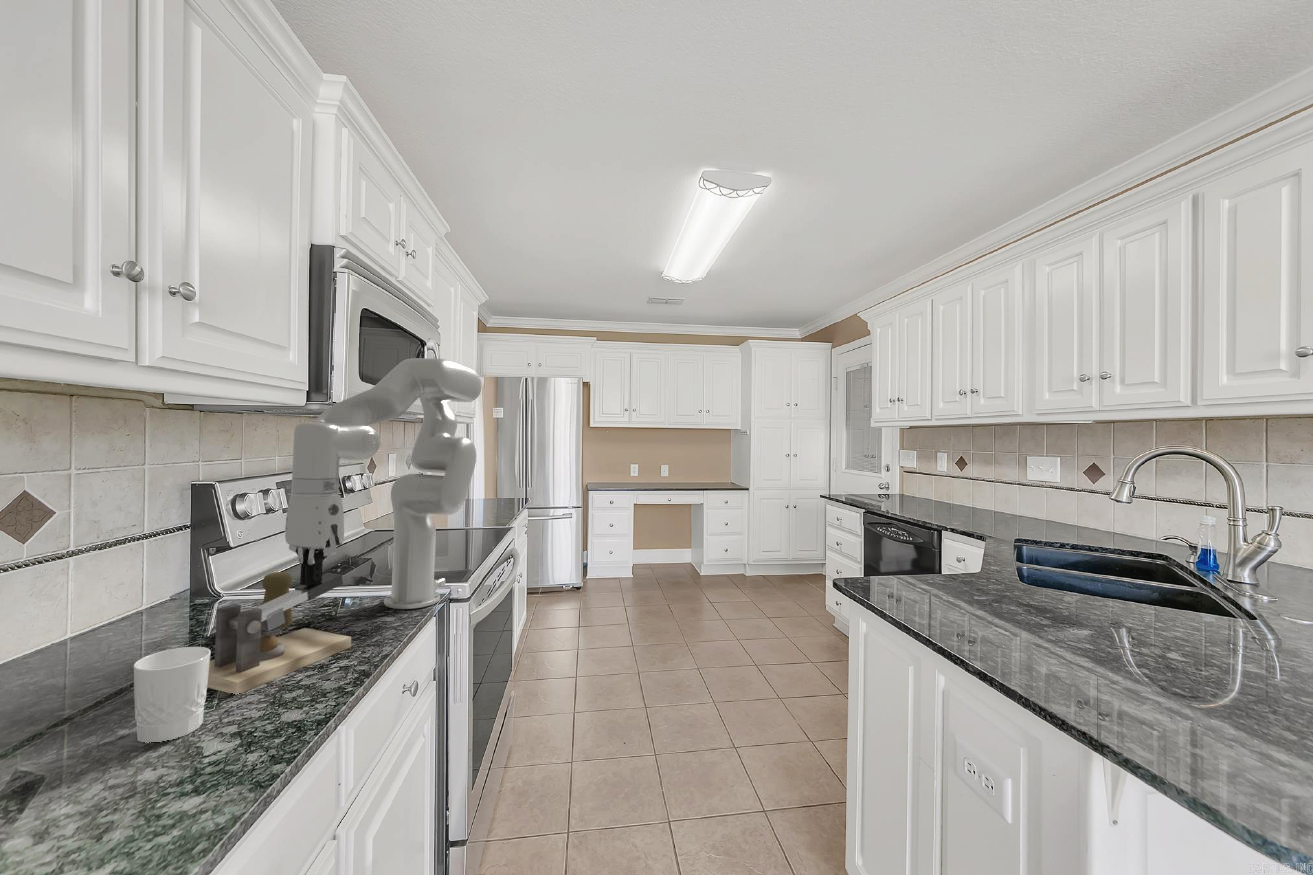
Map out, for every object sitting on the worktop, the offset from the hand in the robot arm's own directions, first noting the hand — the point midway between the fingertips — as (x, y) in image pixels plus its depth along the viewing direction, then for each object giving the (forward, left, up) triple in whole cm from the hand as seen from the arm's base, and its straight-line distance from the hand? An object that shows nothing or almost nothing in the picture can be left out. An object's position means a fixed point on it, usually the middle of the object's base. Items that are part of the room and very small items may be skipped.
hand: (311, 583), depth 102 cm
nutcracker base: (+6, 0, -13) cm, 14 cm away
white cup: (+27, +8, -13) cm, 31 cm away
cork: (-7, -18, -13) cm, 23 cm away
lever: (+3, 0, -5) cm, 6 cm away
